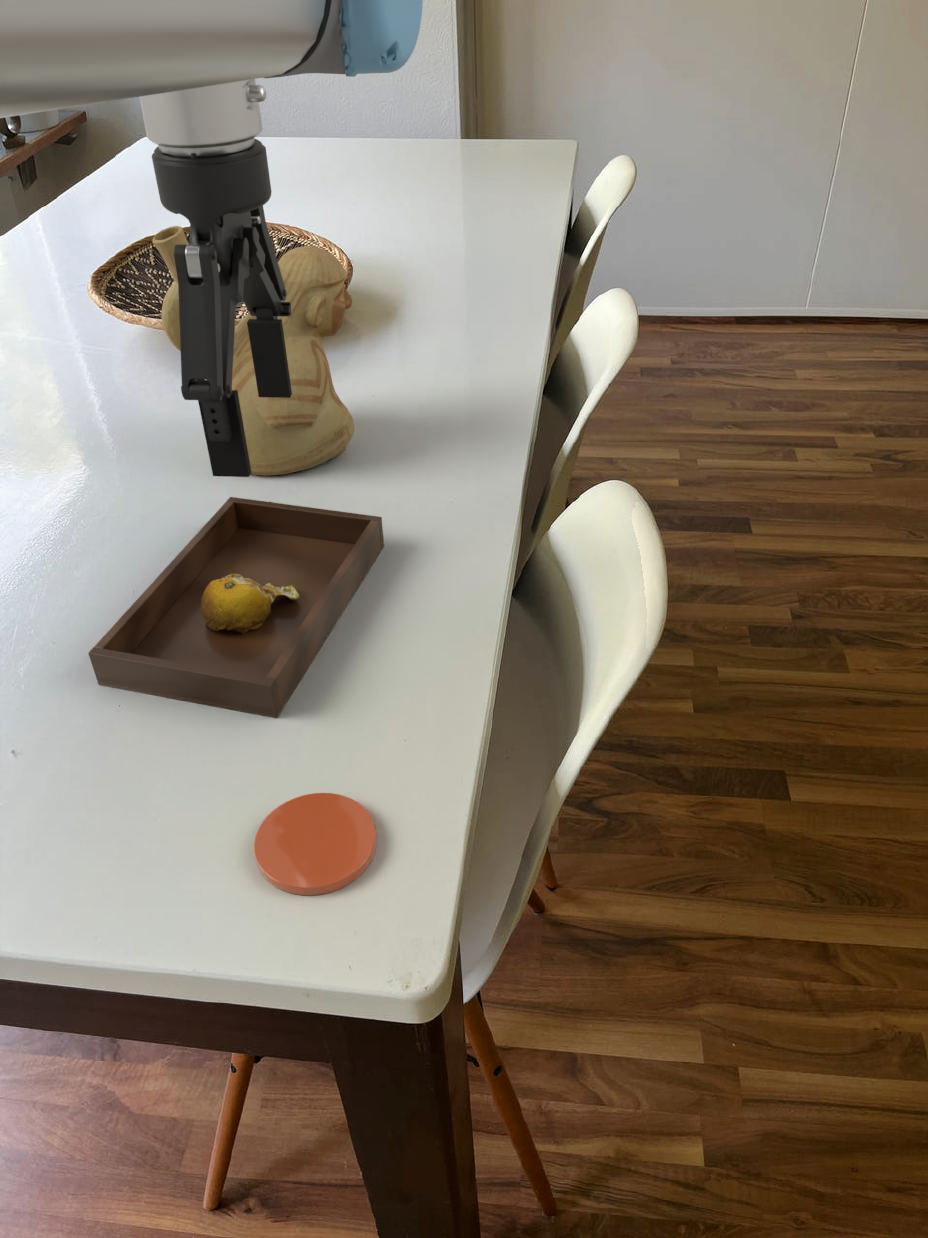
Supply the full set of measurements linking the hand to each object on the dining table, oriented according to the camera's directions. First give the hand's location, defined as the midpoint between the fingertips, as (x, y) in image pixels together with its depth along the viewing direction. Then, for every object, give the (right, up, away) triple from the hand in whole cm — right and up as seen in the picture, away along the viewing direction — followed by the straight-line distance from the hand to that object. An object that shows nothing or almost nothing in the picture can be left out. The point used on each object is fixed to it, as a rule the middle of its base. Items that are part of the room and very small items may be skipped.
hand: (255, 432), depth 79 cm
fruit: (-2, -14, +8) cm, 16 cm away
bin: (-2, -14, +8) cm, 16 cm away
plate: (+7, -30, -13) cm, 33 cm away
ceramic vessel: (-4, +4, +32) cm, 32 cm away
